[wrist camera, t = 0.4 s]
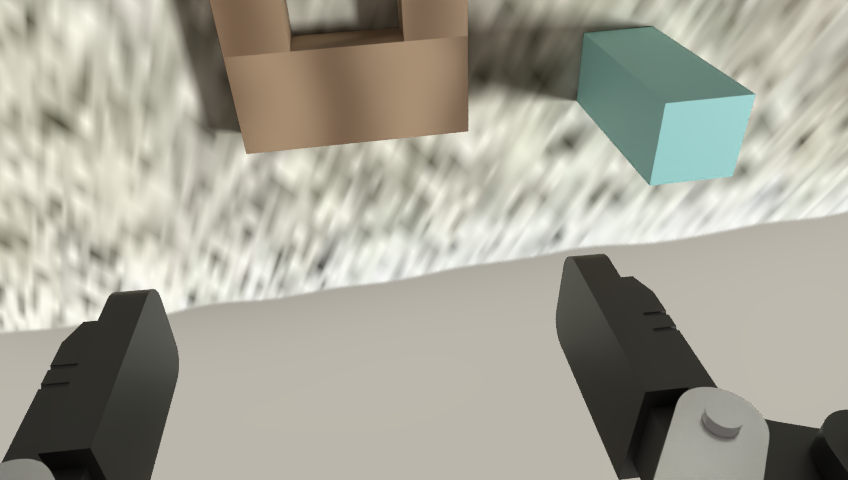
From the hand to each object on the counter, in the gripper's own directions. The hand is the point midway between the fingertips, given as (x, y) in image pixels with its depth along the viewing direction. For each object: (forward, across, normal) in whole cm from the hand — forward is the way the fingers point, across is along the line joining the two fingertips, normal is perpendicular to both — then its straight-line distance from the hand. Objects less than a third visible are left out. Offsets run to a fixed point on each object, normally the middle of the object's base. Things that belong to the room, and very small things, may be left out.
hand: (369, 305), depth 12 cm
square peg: (+24, -15, +4) cm, 28 cm away
